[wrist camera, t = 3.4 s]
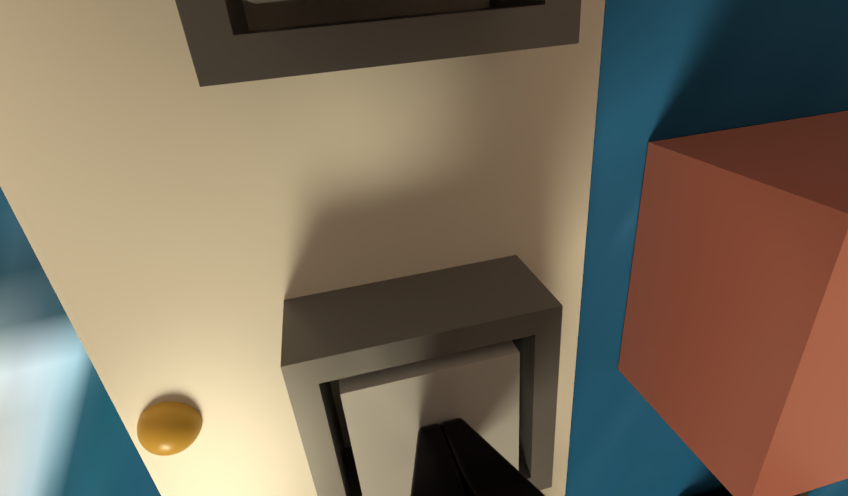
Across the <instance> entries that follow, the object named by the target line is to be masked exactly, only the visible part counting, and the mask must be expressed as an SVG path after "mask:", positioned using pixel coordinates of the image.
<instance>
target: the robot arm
mask: <svg viewBox="0 0 848 496" xmlns="http://www.w3.org/2000/svg"><path fill="white" fill-rule="evenodd" d="M808 492H809V491H807V492H804V493H801V494H797V495H794V496H807V495H808ZM410 496H545V495H544V494H543V493H542V492H541V491H540V490H539V489H538V488H536V487H535V486H534V485H533V484H532V483H531V482H530V481H529V480H528V479H527V478H526V477H525V476H524V475H522V474H521V473H520V472H519V471H518V470H517V469H516V468H515V467H514V466H513V465H512V464H511V463H510V462H509V461H507V460H506V459H505V458H504V457H503V456H502V455H501V454H500V453H499V452H498V451H497V450H496V449H495V448H493V447H492V446H491V445H490V444H489V443H488V442H487V441H486V440H485V439H484V438H483V437H482V436H481V435H479V434H478V433H477V432H476V431H475V430H474V429H473V428H472V427H471V426H470V425H469V424H468V423H467V422H465V421H464V420H463V419H461V418H455V419H451V420H447V421H443V422H442V423H441V425H439V424H437V423H436V424H431V425H427V426H424V427H420V428H419V430H418V435H417V443H416V452H415V461H414V469H413V478H412V486H411V495H410ZM708 496H733V495H732V494H731V493H730V492H729V491H728V490H724V491H721V492H718V493H714V494H711V495H708Z"/></svg>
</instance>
